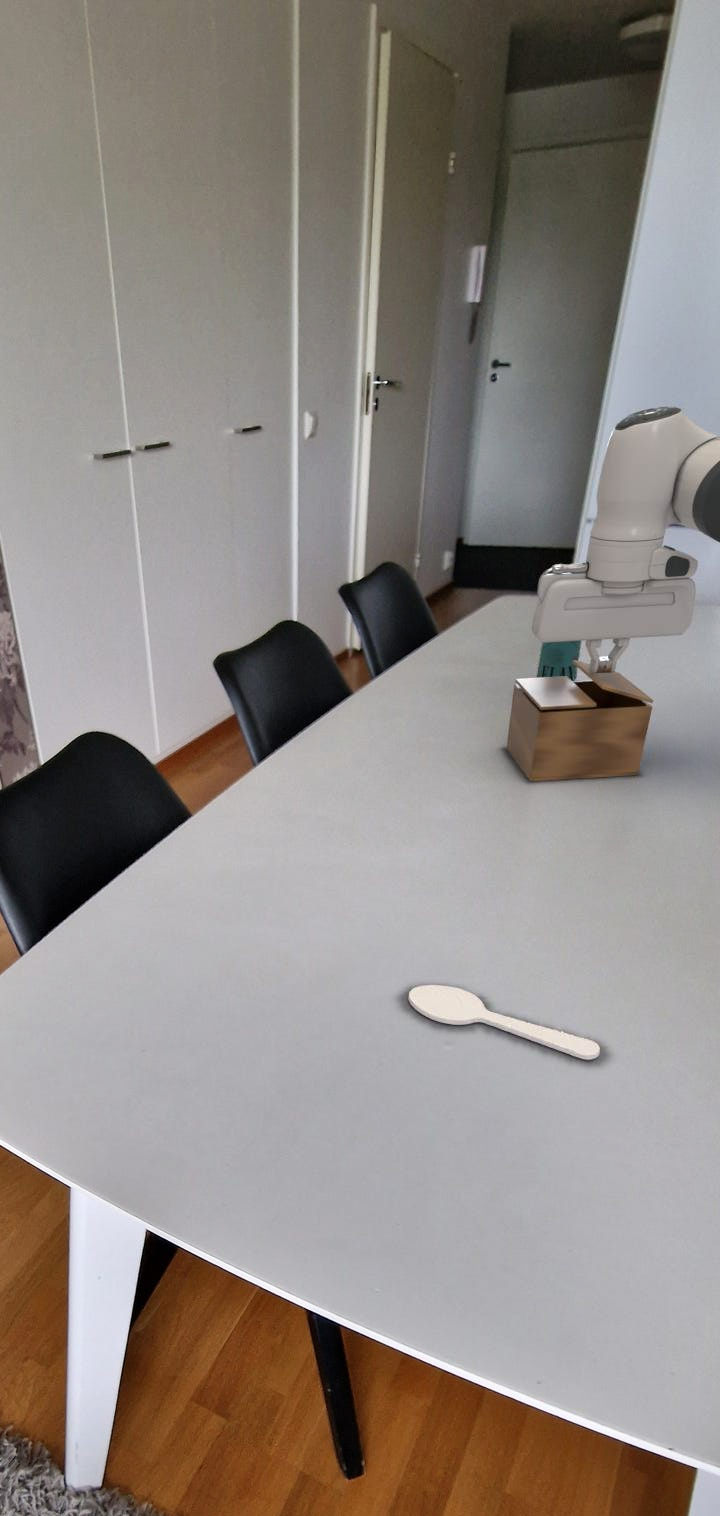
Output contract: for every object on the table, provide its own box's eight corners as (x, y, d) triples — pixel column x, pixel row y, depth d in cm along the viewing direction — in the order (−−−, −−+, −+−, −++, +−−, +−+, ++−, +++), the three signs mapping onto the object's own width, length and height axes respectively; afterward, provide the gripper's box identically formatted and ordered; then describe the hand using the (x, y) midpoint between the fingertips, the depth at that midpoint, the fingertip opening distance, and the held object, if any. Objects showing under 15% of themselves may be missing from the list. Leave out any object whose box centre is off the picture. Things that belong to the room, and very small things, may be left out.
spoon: (588, 1072, 78) (589, 1067, 77) (397, 1007, 87) (397, 1002, 86) (608, 1039, 81) (609, 1034, 81) (423, 980, 90) (423, 976, 90)
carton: (605, 743, 139) (619, 672, 133) (637, 775, 128) (653, 700, 122) (506, 748, 139) (514, 678, 133) (530, 781, 128) (540, 707, 122)
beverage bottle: (530, 703, 155) (548, 573, 143) (535, 691, 160) (553, 565, 148) (571, 706, 153) (592, 574, 141) (575, 694, 158) (596, 565, 146)
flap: (617, 675, 133) (619, 672, 133) (652, 703, 122) (653, 700, 122) (571, 662, 132) (572, 659, 131) (602, 689, 121) (604, 686, 121)
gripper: (548, 570, 115) (532, 682, 124) (711, 561, 115) (684, 674, 124) (534, 560, 121) (519, 669, 129) (690, 552, 120) (665, 661, 129)
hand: (601, 672), depth 126 cm, fingers closed
